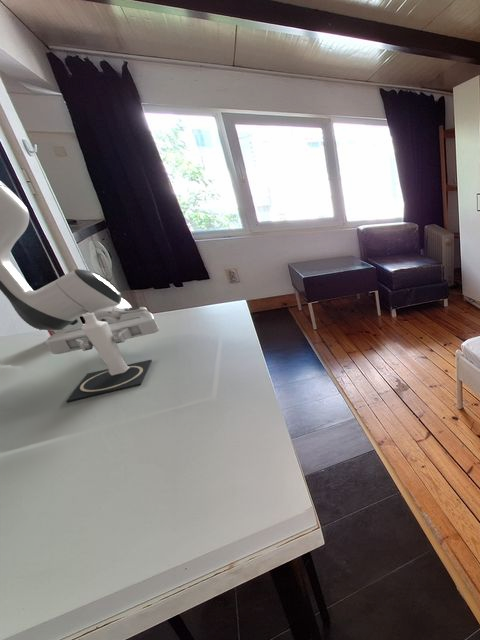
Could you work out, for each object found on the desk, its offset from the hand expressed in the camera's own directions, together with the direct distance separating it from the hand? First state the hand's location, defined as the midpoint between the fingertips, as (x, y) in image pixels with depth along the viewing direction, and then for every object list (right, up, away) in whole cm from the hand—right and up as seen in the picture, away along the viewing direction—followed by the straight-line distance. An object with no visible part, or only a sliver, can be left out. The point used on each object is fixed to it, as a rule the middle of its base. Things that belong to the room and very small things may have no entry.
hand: (102, 343), depth 85 cm
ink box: (-39, +3, +29) cm, 49 cm away
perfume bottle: (0, -7, +4) cm, 8 cm away
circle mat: (0, -9, +3) cm, 9 cm away
